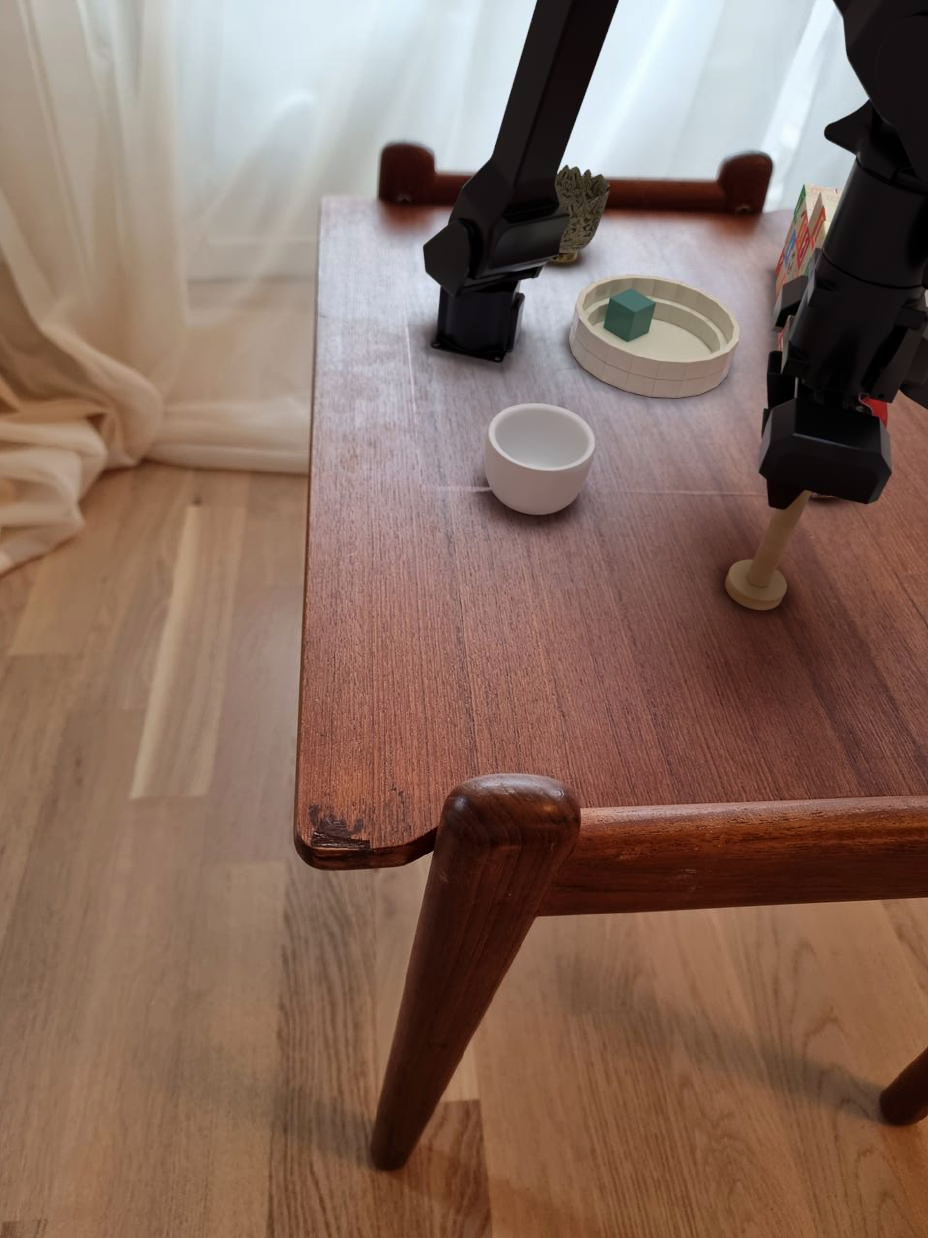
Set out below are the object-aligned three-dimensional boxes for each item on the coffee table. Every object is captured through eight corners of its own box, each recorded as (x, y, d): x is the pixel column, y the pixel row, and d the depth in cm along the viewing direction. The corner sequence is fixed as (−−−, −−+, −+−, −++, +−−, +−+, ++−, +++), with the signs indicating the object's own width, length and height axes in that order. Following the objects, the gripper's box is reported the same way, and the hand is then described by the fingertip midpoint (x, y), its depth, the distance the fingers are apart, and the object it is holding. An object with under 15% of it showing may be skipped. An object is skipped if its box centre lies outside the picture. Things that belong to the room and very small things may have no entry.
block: (627, 342, 88) (635, 312, 86) (602, 327, 89) (609, 297, 87) (648, 332, 89) (656, 302, 87) (624, 317, 91) (631, 287, 88)
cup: (524, 237, 101) (536, 158, 95) (595, 248, 101) (611, 169, 95) (517, 272, 96) (529, 190, 90) (592, 284, 95) (608, 202, 90)
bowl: (554, 380, 83) (562, 338, 81) (583, 301, 93) (591, 261, 90) (719, 418, 82) (734, 377, 79) (732, 334, 92) (745, 294, 89)
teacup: (562, 543, 69) (575, 483, 65) (462, 508, 71) (470, 448, 67) (604, 466, 76) (618, 407, 72) (512, 435, 77) (521, 376, 74)
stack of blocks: (772, 271, 101) (815, 148, 92) (833, 283, 100) (882, 160, 91) (775, 384, 86) (827, 251, 77) (847, 398, 86) (907, 266, 77)
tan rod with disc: (719, 598, 67) (777, 458, 58) (731, 562, 70) (788, 423, 61) (776, 618, 66) (844, 479, 58) (786, 581, 69) (853, 442, 60)
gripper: (1066, 392, 44) (914, 629, 55) (1014, 218, 56) (900, 440, 68) (814, 336, 45) (717, 579, 56) (819, 178, 57) (739, 403, 69)
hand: (777, 493), depth 62 cm, fingers closed
